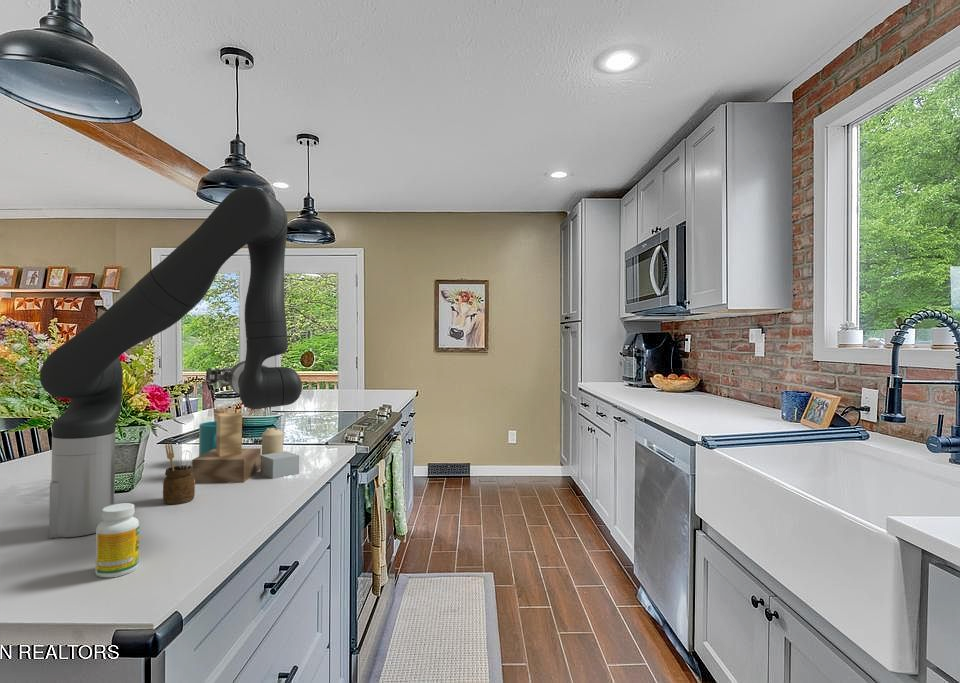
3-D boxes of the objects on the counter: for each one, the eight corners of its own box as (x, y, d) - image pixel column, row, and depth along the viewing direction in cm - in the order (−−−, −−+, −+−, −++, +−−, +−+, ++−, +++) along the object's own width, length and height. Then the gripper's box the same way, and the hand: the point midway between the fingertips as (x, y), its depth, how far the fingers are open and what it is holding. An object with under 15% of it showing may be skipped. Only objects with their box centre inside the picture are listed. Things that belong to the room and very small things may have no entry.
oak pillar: (219, 456, 130) (220, 416, 130) (216, 452, 134) (216, 413, 134) (241, 454, 133) (242, 415, 133) (237, 450, 137) (237, 412, 137)
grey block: (272, 479, 132) (273, 459, 132) (260, 474, 136) (260, 455, 136) (298, 474, 137) (299, 455, 137) (285, 469, 142) (286, 451, 142)
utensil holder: (177, 506, 109) (178, 448, 109) (155, 502, 111) (155, 446, 111) (201, 498, 115) (201, 443, 115) (179, 495, 117) (179, 441, 117)
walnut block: (191, 484, 127) (192, 459, 127) (213, 471, 140) (213, 448, 140) (243, 484, 128) (244, 459, 128) (260, 470, 141) (260, 448, 141)
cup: (196, 471, 138) (196, 428, 138) (200, 461, 149) (200, 421, 149) (234, 468, 142) (234, 426, 142) (235, 458, 153) (236, 420, 153)
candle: (275, 466, 144) (275, 430, 144) (257, 465, 145) (257, 429, 145) (286, 462, 149) (287, 427, 149) (269, 461, 150) (269, 426, 150)
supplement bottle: (91, 570, 79) (92, 506, 79) (133, 560, 83) (134, 499, 83) (100, 582, 75) (101, 515, 75) (143, 570, 79) (144, 507, 79)
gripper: (287, 362, 114) (269, 358, 127) (215, 360, 106) (203, 356, 119) (285, 397, 114) (267, 389, 127) (212, 398, 106) (201, 389, 119)
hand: (236, 373), depth 123 cm, fingers open, 8 cm apart
